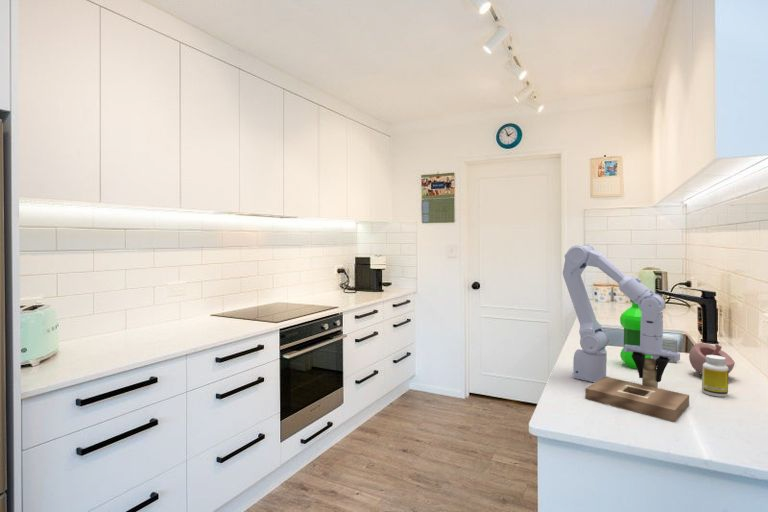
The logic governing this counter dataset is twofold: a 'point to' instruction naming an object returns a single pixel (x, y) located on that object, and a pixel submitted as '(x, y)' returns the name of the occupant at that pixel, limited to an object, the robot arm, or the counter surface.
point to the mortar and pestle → (701, 350)
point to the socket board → (638, 398)
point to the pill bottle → (715, 376)
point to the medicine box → (669, 346)
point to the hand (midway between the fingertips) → (650, 379)
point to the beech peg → (650, 373)
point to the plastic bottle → (631, 332)
